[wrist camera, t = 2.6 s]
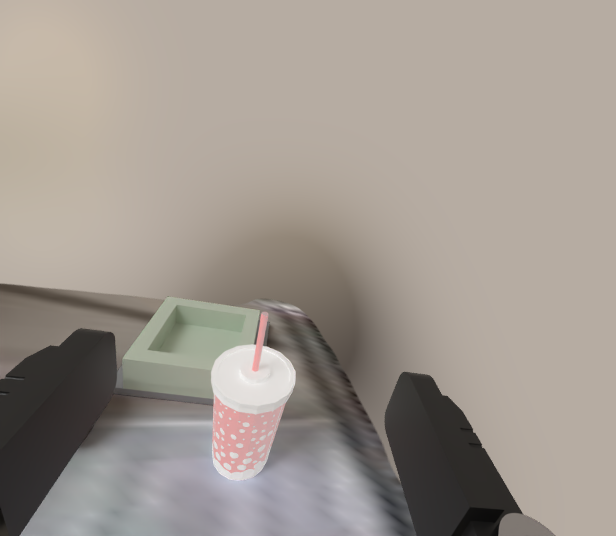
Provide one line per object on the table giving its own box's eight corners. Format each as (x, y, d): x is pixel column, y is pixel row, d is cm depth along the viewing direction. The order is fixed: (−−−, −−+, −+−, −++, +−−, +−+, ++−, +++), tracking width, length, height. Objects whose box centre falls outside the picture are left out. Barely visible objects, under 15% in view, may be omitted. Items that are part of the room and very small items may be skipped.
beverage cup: (239, 410, 31) (259, 282, 25) (290, 449, 28) (326, 316, 22) (185, 456, 26) (196, 310, 20) (242, 509, 23) (272, 358, 17)
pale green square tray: (106, 392, 29) (104, 356, 28) (163, 311, 42) (164, 282, 40) (258, 410, 31) (264, 376, 29) (268, 326, 44) (273, 299, 42)
